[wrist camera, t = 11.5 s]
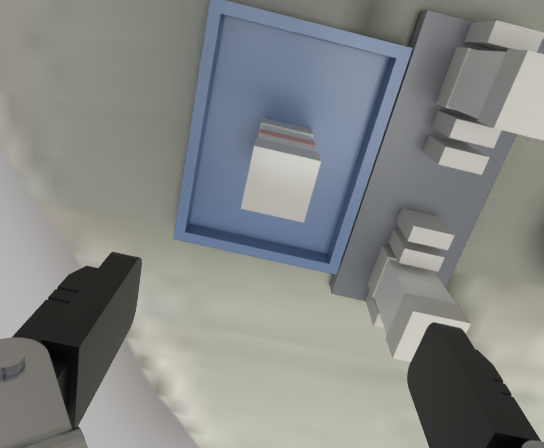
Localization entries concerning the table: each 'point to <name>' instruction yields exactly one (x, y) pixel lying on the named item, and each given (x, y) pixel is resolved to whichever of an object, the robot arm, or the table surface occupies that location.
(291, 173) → the block
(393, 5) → the table surface
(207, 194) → the tray
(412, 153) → the fuse holder
